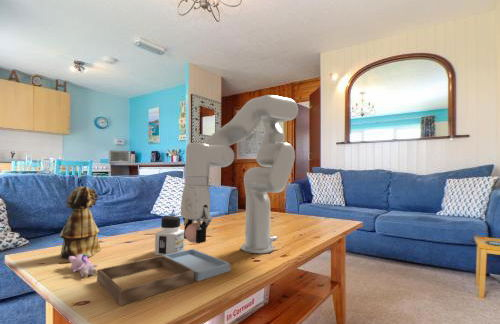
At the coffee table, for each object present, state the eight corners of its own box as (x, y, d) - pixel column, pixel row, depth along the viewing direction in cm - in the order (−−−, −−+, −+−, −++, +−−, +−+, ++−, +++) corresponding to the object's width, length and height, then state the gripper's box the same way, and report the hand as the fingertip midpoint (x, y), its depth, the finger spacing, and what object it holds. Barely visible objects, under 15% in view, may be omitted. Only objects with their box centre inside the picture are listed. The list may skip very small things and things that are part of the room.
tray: (192, 255, 92) (193, 248, 92) (230, 270, 78) (230, 263, 78) (162, 262, 84) (163, 255, 84) (198, 281, 70) (198, 272, 70)
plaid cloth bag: (35, 258, 83) (59, 181, 85) (63, 247, 96) (83, 181, 98) (80, 268, 83) (102, 191, 85) (101, 256, 97) (120, 190, 99)
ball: (197, 239, 85) (198, 220, 86) (208, 243, 81) (208, 223, 81) (180, 242, 81) (181, 222, 82) (191, 246, 77) (192, 225, 77)
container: (174, 256, 90) (175, 218, 91) (154, 255, 92) (155, 217, 92) (184, 250, 98) (185, 215, 98) (165, 248, 99) (166, 214, 100)
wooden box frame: (162, 265, 82) (163, 255, 82) (193, 282, 69) (193, 270, 70) (96, 281, 69) (97, 269, 69) (120, 305, 57) (120, 291, 57)
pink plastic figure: (103, 279, 73) (84, 259, 83) (105, 259, 73) (86, 241, 83) (77, 287, 69) (60, 264, 78) (79, 265, 68) (62, 244, 78)
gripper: (172, 181, 86) (170, 237, 85) (202, 183, 73) (200, 248, 72) (192, 181, 91) (190, 233, 90) (223, 183, 79) (221, 244, 78)
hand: (194, 239), depth 81 cm, fingers closed on ball, 5 cm apart
